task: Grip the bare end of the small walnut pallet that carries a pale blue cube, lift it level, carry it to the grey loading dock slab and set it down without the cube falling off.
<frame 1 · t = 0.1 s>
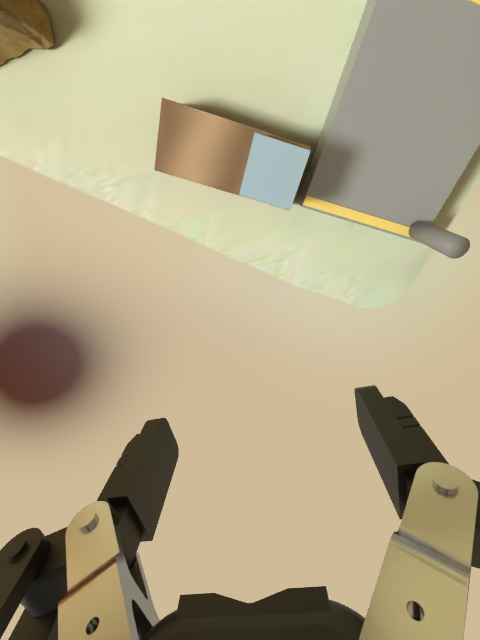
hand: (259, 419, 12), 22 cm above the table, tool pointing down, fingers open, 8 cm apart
pale blue cube: (270, 170, 24), point 4 cm above the table, touching pallet
dock: (394, 127, 25), on the table
pallet: (233, 158, 27), on the table, touching pale blue cube
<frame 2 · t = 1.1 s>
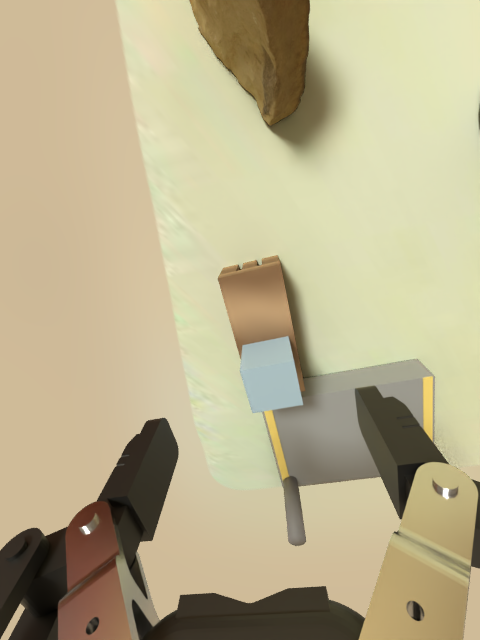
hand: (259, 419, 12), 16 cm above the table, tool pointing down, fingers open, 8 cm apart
pale blue cube: (270, 360, 25), point 4 cm above the table, touching pallet
rock: (243, 46, 20), on the table
dock: (341, 417, 31), on the table
pallet: (263, 320, 28), on the table, touching pale blue cube
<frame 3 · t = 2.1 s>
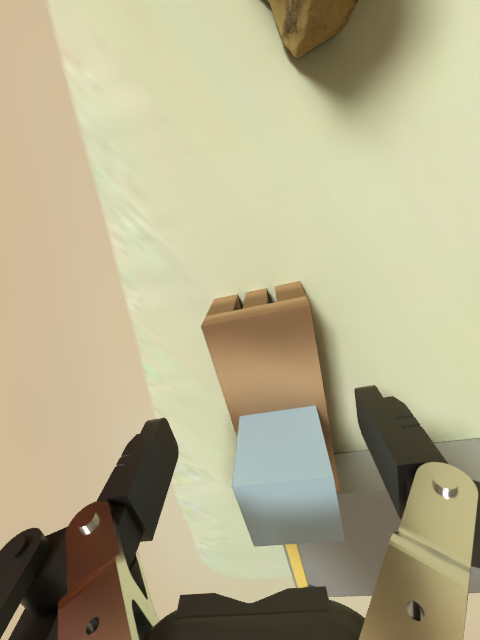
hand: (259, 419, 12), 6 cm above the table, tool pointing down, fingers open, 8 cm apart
pale blue cube: (284, 439, 15), point 4 cm above the table, touching pallet
dock: (384, 504, 22), on the table
pallet: (276, 375, 19), on the table, touching pale blue cube
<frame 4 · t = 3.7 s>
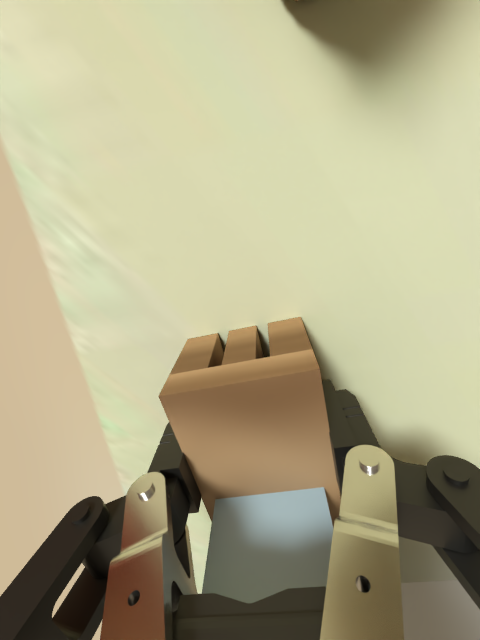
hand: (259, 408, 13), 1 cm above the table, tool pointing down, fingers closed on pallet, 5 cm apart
pale blue cube: (278, 528, 11), point 4 cm above the table, touching pallet
dock: (402, 576, 18), on the table
pallet: (270, 433, 14), on the table, touching pale blue cube, gripper
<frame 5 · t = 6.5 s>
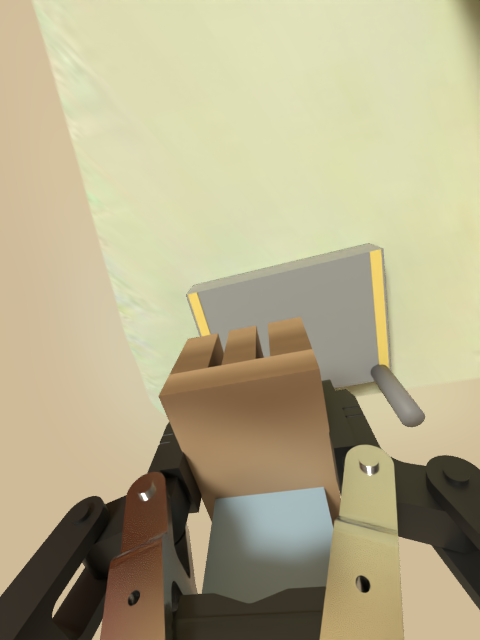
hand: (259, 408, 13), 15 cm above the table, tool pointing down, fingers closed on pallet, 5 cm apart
pale blue cube: (278, 528, 11), point 18 cm above the table, touching pallet
dock: (289, 324, 28), on the table
pallet: (270, 433, 14), point 14 cm above the table, touching pale blue cube, gripper
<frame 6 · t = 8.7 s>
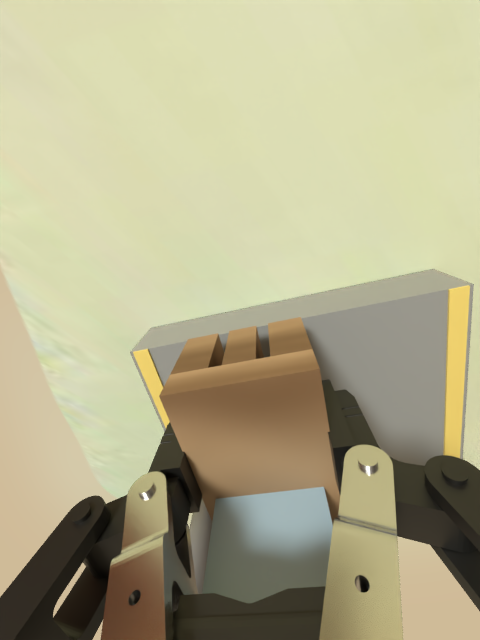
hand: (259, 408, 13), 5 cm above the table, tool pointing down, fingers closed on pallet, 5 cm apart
pale blue cube: (278, 527, 11), point 8 cm above the table, touching pallet
dock: (299, 387, 18), on the table
pallet: (270, 433, 14), point 4 cm above the table, touching pale blue cube, gripper
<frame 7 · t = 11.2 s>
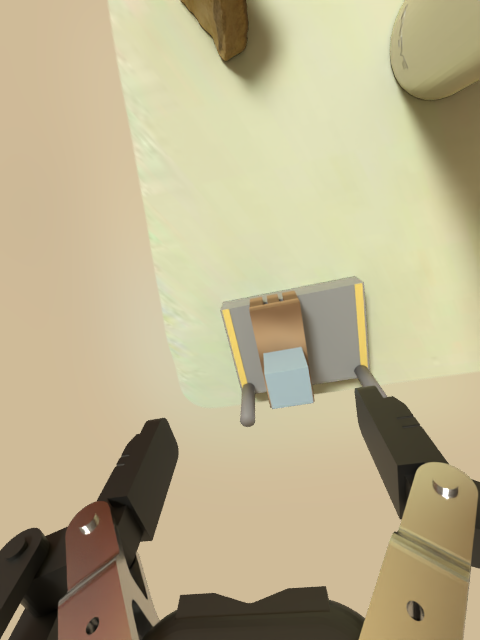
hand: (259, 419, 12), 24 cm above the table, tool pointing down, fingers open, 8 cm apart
pale blue cube: (285, 366, 30), point 7 cm above the table, touching pallet
dock: (294, 333, 36), on the table
pallet: (280, 342, 34), point 3 cm above the table, touching pale blue cube, dock
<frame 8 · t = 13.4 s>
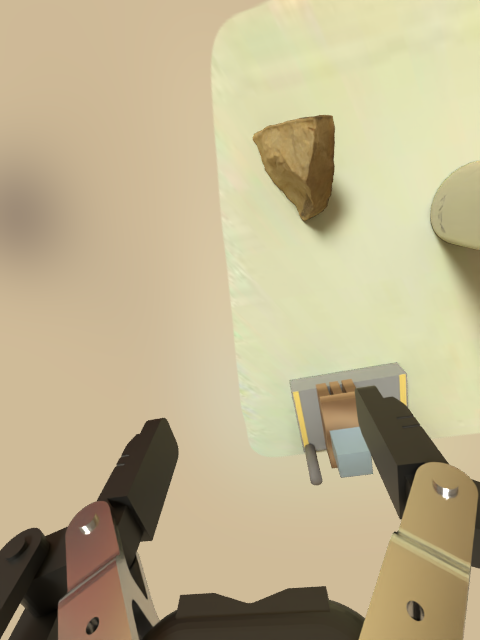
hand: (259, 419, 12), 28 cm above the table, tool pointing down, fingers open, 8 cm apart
pale blue cube: (346, 439, 39), point 7 cm above the table, touching pallet
rock: (289, 177, 34), on the table
dock: (345, 403, 45), on the table
pallet: (337, 414, 42), point 3 cm above the table, touching pale blue cube, dock
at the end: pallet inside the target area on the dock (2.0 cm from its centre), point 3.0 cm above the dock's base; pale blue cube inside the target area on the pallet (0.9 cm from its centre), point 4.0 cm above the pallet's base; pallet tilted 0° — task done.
